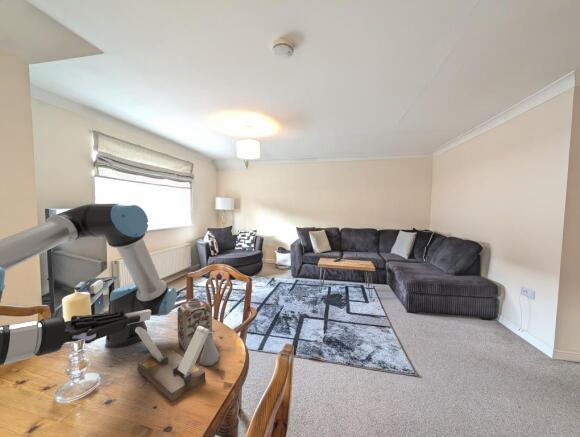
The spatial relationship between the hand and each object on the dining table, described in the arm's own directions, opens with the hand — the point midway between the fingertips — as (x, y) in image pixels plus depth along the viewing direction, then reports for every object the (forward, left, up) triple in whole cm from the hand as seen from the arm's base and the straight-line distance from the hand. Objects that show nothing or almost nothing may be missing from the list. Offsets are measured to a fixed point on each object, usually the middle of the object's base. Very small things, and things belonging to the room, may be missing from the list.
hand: (149, 314), depth 69 cm
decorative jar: (-29, +5, -25) cm, 39 cm away
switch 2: (-3, +8, -22) cm, 24 cm away
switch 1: (-13, -3, -22) cm, 26 cm away
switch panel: (-8, +3, -24) cm, 26 cm away
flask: (-14, +14, -25) cm, 32 cm away
